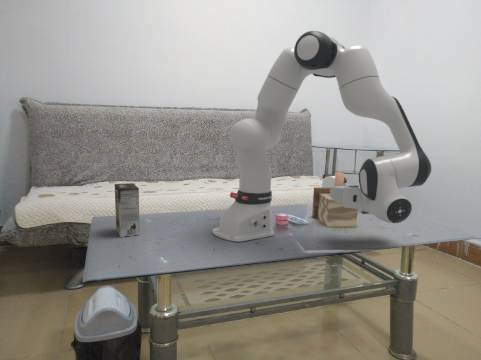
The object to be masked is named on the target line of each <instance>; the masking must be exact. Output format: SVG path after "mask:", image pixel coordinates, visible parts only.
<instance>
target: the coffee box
mask: <svg viewBox="0 0 481 360" xmlns="http://www.w3.org/2000/svg"><path fill="white" fill-rule="evenodd" d="M139 189H140V188H139V187H138V186H137V185H136V184H135V183H114V201H115V203H114V204H115V208H114V209H115V229H116V231H117V234H118V235H119V237H120V238H126V237H125V236H129V237H135V236H134V235H138V236H140V190H139Z"/></svg>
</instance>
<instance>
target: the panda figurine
mask: <svg viewBox="0 0 481 360" xmlns="http://www.w3.org/2000/svg"><path fill="white" fill-rule="evenodd" d="M322 179H323V180H322V183H321V188H331V187H332V186H334V185H335V175H332V174H329V173H327V174H322ZM346 183H348V180H347V178H346V177H345V176H344V184H343V186H347V185H346Z"/></svg>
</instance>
